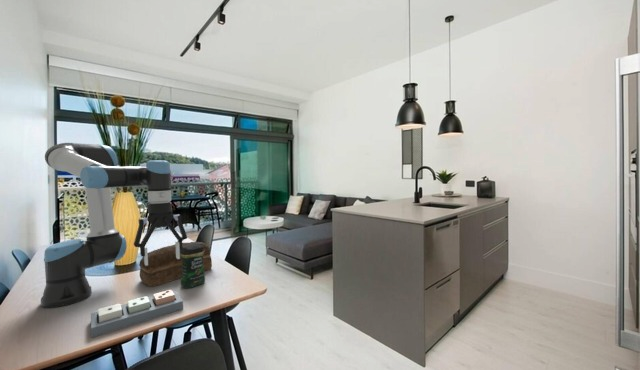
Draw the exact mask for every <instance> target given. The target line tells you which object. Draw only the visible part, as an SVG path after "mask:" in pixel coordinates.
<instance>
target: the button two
mask: <svg viewBox="0 0 640 370" xmlns="http://www.w3.org/2000/svg"><path fill="white" fill-rule="evenodd" d="M148 298H149V297H148V296H147V295H146V296H141V297H139V298H134V299H130V300H128V301H127V303H126V304H127V305H128V311H129V314H130V313H134V312H137V311H140V310H144V309H147V308H150V301H149V299H148Z"/></svg>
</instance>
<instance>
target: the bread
mask: <svg viewBox="0 0 640 370" xmlns="http://www.w3.org/2000/svg"><path fill="white" fill-rule="evenodd" d="M195 243H201V244H203V247H204V254H203V268H204V272H205V271H209V270H211V269H212V267H213V262H212V255H211V252H212V251H211V248H210V246H209V244H207V243H205V242H201V241H191V242H182V246H185V245H190V244H195ZM180 251H181V250H180ZM139 268H140V269H139V278H140V280H141V281H142V283H143V284H144V285H146V286H148V287H150V288H152V287H156V286H160V285H163V284H166V283H169V282H172V281H176V280H178V279H181V275H182V258H181V256H180V259H177V258H176V244H171V245H167V246H163V247H160V248H157V249H154V250H151V251H149V252H148V265H147V266H145V264H144V256H143V257H142V258H141V259H140V260H139Z"/></svg>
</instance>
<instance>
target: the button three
mask: <svg viewBox="0 0 640 370" xmlns="http://www.w3.org/2000/svg"><path fill="white" fill-rule="evenodd" d="M172 291H173V290H172V289H168V290H165V291H160V292H157V293H154V294H152V295H153V296H152V297H153V300H154V303H155V304H156V306H158V305H161V304H164V303H168V302H171V301H175V294H174V293H173V292H172Z"/></svg>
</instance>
